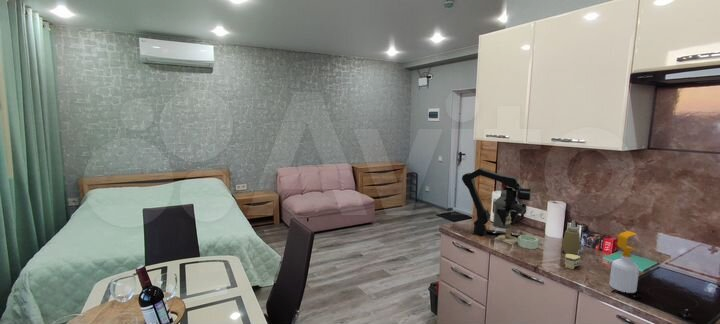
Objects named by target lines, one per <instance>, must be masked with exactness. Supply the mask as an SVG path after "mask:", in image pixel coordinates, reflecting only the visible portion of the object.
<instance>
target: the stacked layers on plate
mask: <svg viewBox="0 0 720 324" xmlns="http://www.w3.org/2000/svg"><path fill="white" fill-rule="evenodd" d="M580 258H581V256H580V255H578V254H576V255H573V254H567V253H565V258H564V265H565V267H564V268H565V269H566V268H567V269H570V270H574V269H575V267H577V266H579V265H580V262H579V261H581V259H580Z"/></svg>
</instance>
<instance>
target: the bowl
mask: <svg viewBox="0 0 720 324" xmlns="http://www.w3.org/2000/svg"><path fill="white" fill-rule="evenodd" d="M517 239H518V242H517V245H518V246H519V247H521V248H523V249H528V250H536V249H537V248H539V241H540V240H539V239H538V237H535V236H532V235H527V234H526V235H525V234H521V235H518V236H517Z"/></svg>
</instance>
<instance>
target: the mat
mask: <svg viewBox="0 0 720 324" xmlns="http://www.w3.org/2000/svg"><path fill="white" fill-rule="evenodd" d="M493 239H495V240H498V241H500V242H504V241H501V240H499V239H498V236H497V237H494V238H493ZM504 243H507V244H509V245H513V244H515V243H517V242H515V243H510V242H504Z"/></svg>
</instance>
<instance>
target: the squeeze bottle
mask: <svg viewBox="0 0 720 324" xmlns="http://www.w3.org/2000/svg"><path fill="white" fill-rule="evenodd" d="M576 225H577V224H576V221H575V220H573V219H572V220H571V223H570V225H568V226H567V229H566V230H565V231H564V235H563V241H562V244H561V245H562V246H561V247H562V249H563V252H564V254H573V255H578V252H579V251H580V249H581V241H580V240H581V237H580V232H579V228H578V227H577V226H576Z"/></svg>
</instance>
